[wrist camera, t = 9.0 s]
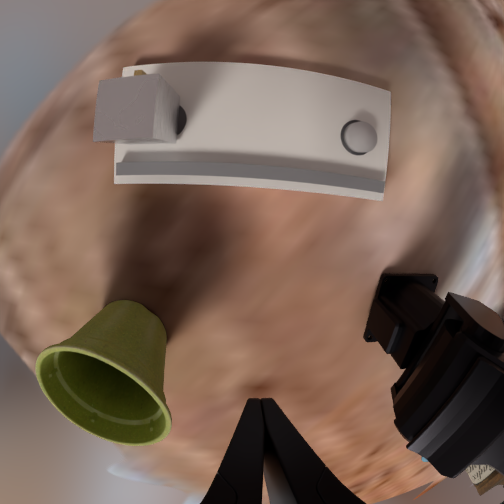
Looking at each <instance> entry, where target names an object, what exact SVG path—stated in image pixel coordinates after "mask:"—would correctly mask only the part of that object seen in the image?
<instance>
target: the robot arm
mask: <svg viewBox="0 0 504 504" xmlns="http://www.w3.org/2000/svg"><path fill="white" fill-rule="evenodd" d="M385 279H387V281H386V282H384V281H385ZM433 279H434V280H433ZM437 283H438V277H437V276H436V275H434V274H390V273H386V274H383V275H382V276H381V277H380V280H379V284H378V288H377V292H376V296H375V299H374V300H373V304H372V307H371V311H370V314H369V318H368V321H367V324H366V325H367V326H366V330H365V333H364V336H363V338H364V340H365V341H366V342H377V341H378V342H379V344H380V345H381V346H382V348H383V349H384V351H385V352H386V353H387V354H391V356H392V357H393V359H394V360H395V362H396V363H397V364H398V366H399V367H400V369H405V371H404V372H403V374H402V375H401V377H400V378H399V379H398V381H397V382H396V383H394V385H393V386H392V387H391V394H392V399H393V408H394V412H395V417H396V419H395V420H394V424H395V426H396V428H397V429H398V431H399V432H400V434H401V435H402V436H403V437H404V438H405V439H406V440H407V441H408V442H409V443H408V444H407V445H406V448H407V449H409V450H411V451H413V452H416V453H418V454H419V455H421V456H422V457H424V458H425V459H427V460H428V461H429V462H430V463H431V464H432V465H433V466H434V467H435V469H436V470H437V471H438V472H439V473H440V474H441V475H443V476H447V477H450V478H455V477H457V476H458V475H459V474H460V473H462V472H463V471H464V470H465V469H466V468H468V467H469V466H470V465H489V466H491V467H492V468H494V469H495V470H496V471H498V472H499V473H500V474H502V475H503V476H504V324H503V322H502V320H501V319H500V317H499V315H498V314H497V313H496V312H494V311H493V310H491V309H490V308H488V307H487V306H485V305H484V304H482V303H481V302H479V301H477V300H474V299H470V298H467V297H464V296H461V295H457V294H454V293H451V292H448V294H447V296H446V298H445V301H444V300H442V299H441V298H440V297H439V296H438V295H436V294H435V293H434V292H435V289H436V286H437ZM370 335H371V336H370ZM369 336H370V337H369ZM325 466H326V465H325V464H324V463H323V461H322V460H321V459H320V458H319V457H318V456H317V454H316V453H315V452H314V451H313V449H312V448H311V447H310V446H309V445H308V443H307V442H306V441H305V440H304V438H303V437H302V436H301V435H300V433H299V432H298V431H297V429H296V428H295V427H294V426H293V424H292V423H291V422H290V420H289V419H288V418H287V417H286V415H285V414H284V413H283V411H282V410H281V409H280V407H279V406H278V405H277V403H276V402H275V401H274V399H272V398H261V399H259V398H249V399H248V400H247V402H246V405H245V407H244V410H243V412H242V415H241V417H240V420H239V422H238V425H237V427H236V430H235V432H234V434H233V437H232V439H231V441H230V444H229V446H228V449H227V451H226V453H225V456H224V458H223V460H222V462H221V465H220V467H219V469H218V471H217V474H216V476H215V478H214V480H213V482H212V484H211V486H210V488H209V490H208V492H207V494H206V495H205V497H204V499H203V500H202V502H201V503H200V504H262V488H263V472H264V477H265V482H266V486H267V491H268V496H269V500H270V504H366V503H365V502H363V501H362V500H361V499H360V498H358V497H357V496H356V495H355V494H354V493H352V492H351V491H350V490H349V489H348V488H347V487H346V486H344V485H343V484H342V483H341V482H340V481H339V480H338V479H337V477H336V476H335V475H334V474H333V473H332V472H331V471H330V470H329V468H328V467H325ZM500 504H504V501H503V502H502V503H500Z"/></svg>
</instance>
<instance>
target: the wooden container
mask: <svg viewBox="0 0 504 504" xmlns="http://www.w3.org/2000/svg"><path fill="white" fill-rule="evenodd" d="M465 470H466V472H467V474H468V475H469V477H470V479H471V481H472V482H473V484H474V485H475V487H476V488H477V491H478V493H479V495H480V496H481V495H482V494H484V493H485V492H487V491H488V490H490V489H491V488H493V487H494V486H496V485H504V476H503V475H502V474H500V473H499V472H498V471H496V470H495V469H494V468H492V467H491V466H489V465H470V466H469V467H468V468H466V469H465ZM503 487H504V486H503Z"/></svg>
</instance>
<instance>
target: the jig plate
mask: <svg viewBox="0 0 504 504" xmlns="http://www.w3.org/2000/svg"><path fill="white" fill-rule="evenodd" d="M135 70H143V71H144V72H145V73H146V74H158V73H159V74H160V75H161V76H162V77H163V78H164V79H165V80H166V81H167V82H168V83H169V85H170V86H171V87H172V88H173V89H174V90H175V91H176V92H177V93H178V94H179V96H180V104H179V115H178V127H177V141H176V144H136V145H127V144H116V143H115V160H114V184H202V185H225V186H243V187H258V188H272V189H284V190H295V191H305V192H315V193H324V194H333V195H341V196H349V197H357V198H364V199H371V200H378V201H383V195H384V188H385V180H386V171H387V161H388V150H389V136H390V116H391V92H390V91H387V90H384V89H381V88H378V87H374V86H371V85H368V84H364V83H360V82H357V81H353V80H349V79H345V78H341V77H336V76H332V75H327V74H322V73H317V72H312V71H306V70H300V69H294V68H287V67H279V66H271V65H261V64H250V63H234V62H175V63H160V64H148V65H139V66H131V67H124V68H123V74H122V77H128V76H134V71H135Z"/></svg>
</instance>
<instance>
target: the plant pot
mask: <svg viewBox="0 0 504 504" xmlns="http://www.w3.org/2000/svg"><path fill="white" fill-rule="evenodd" d="M166 341H167V336H166V331H165V328H164V326H163V324H162V322H161V320H160V319H159V318H158V317H157V316H156V315H154V314H153V313H151V312H150V311H149V310H147V309H146V308H145V307H144V306H143V305H142V304H140V303H137V302H134V301H129V300H118V301H114V302H111V303H109V304H108V305H107V306H105V307H104V308H103V309H102V310H101V311H100V312H99V313H98V314H97V315H95V316H94V317H93V318H92V319H91V320H90V321H89V322H87V323H86V324H85V325H84V326H83V327H82V328H81V329H80V330H79V331H77V332H76V333H75V334H74V335H73V336H72V337H71V338H69V339H67V340H64V341H63V342H61V343H60V344H55V345H52V346H49V347H47V348H46V349H44V350H43V351H42V352H41V353H40V355H39V356H38V358H37V361H36V376H37V379H38V382H39V384H40V387H41V389H42V391H43V392H44V394H45V395H46V396H47V398H48V399H49V400H50V402H51V403H52V404H53V406H54V407H55V408H56V409H57V410H58V411H59V412H60V413H61V414H63V416H65V417H66V418H67V419H68V420H69V421H71V422H72V423H73V424H75V425H77V426H78V427H80V428H81V429H83V430H84V431H86V432H88V433H90V434H92V435H95V436H97V437H99V438H101V439H104V440H107V441H110V442H113V443H117V444H124V445H129V446H146V445H151V444H154V443H157V442H160V441H161V440H163V439H164V438H165V437H166V436H167V435H168V434H169V432H170V430H171V426H172V418H171V413H170V410H169V408H168V406H167V404H166V399H165V395H164V392H163V383H164V366H165V353H166Z"/></svg>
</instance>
